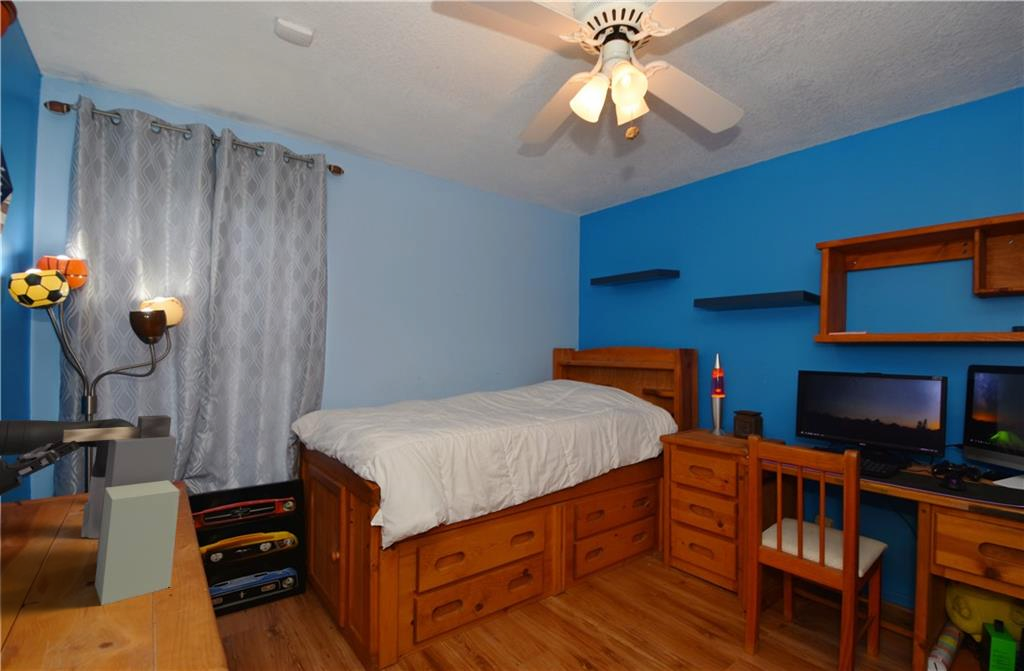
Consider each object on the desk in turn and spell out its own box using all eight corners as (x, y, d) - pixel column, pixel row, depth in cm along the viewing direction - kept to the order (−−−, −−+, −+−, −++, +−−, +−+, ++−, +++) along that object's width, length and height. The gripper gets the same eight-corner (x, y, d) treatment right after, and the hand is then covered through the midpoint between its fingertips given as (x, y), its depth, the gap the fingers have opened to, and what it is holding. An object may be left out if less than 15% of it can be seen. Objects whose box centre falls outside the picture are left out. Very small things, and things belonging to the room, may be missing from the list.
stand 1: (102, 578, 109) (116, 442, 111) (96, 562, 117) (109, 435, 119) (164, 564, 118) (176, 438, 120) (154, 550, 126) (166, 431, 128)
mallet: (63, 443, 107) (66, 421, 107) (62, 439, 111) (64, 418, 111) (169, 436, 121) (171, 417, 121) (164, 433, 125) (166, 415, 126)
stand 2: (101, 605, 98) (112, 499, 99) (94, 585, 106) (105, 487, 107) (170, 587, 106) (179, 490, 108) (159, 570, 114) (168, 480, 116)
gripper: (-31, 477, 93) (69, 431, 104) (-26, 464, 103) (64, 424, 114) (-7, 506, 96) (88, 458, 107) (-5, 491, 106) (82, 449, 116)
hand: (76, 441), depth 110 cm, fingers open, 8 cm apart
